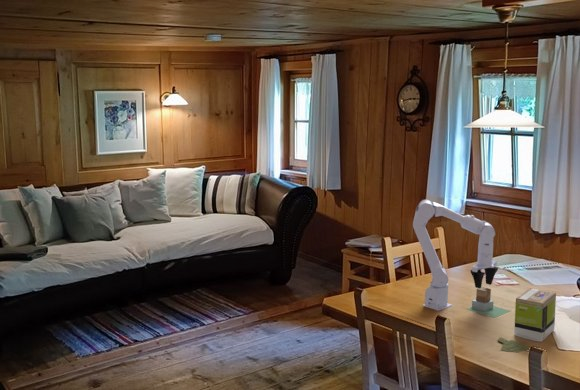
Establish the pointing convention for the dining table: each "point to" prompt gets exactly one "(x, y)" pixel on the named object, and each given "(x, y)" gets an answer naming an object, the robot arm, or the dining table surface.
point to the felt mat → (490, 311)
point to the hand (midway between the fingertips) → (483, 285)
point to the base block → (482, 305)
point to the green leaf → (513, 345)
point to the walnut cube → (483, 294)
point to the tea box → (535, 314)
